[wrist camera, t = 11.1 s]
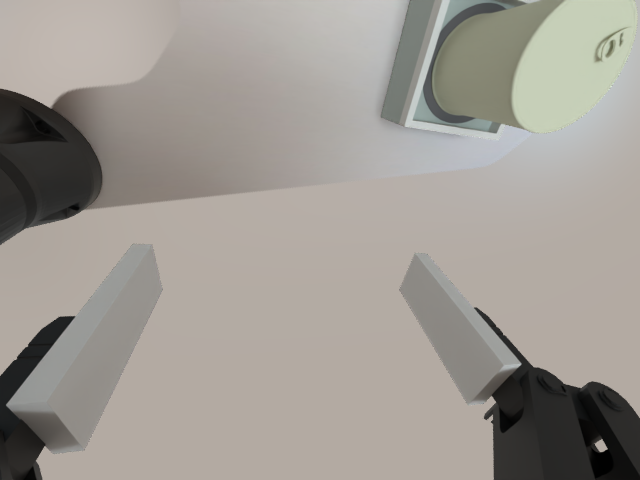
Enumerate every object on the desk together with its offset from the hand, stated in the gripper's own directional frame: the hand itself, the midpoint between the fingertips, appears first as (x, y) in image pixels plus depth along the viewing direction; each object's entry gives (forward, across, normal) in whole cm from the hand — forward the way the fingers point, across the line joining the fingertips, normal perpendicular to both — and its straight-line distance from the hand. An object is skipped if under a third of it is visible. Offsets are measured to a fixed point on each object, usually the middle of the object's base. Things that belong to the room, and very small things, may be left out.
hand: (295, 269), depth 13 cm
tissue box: (+27, +20, +12) cm, 35 cm away
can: (+21, +20, +12) cm, 31 cm away
